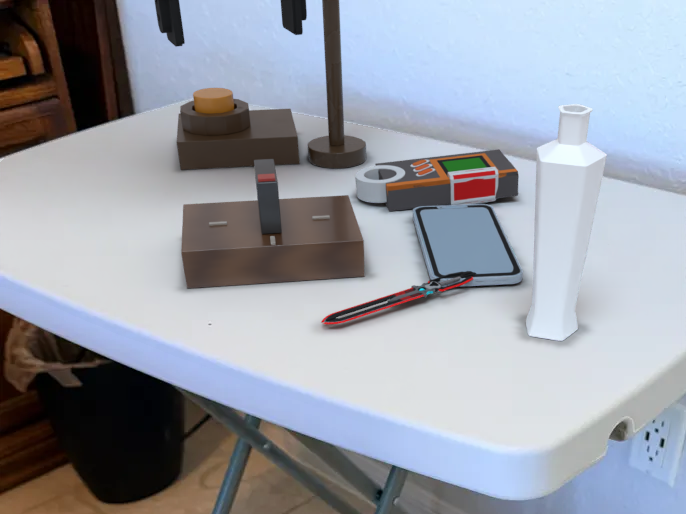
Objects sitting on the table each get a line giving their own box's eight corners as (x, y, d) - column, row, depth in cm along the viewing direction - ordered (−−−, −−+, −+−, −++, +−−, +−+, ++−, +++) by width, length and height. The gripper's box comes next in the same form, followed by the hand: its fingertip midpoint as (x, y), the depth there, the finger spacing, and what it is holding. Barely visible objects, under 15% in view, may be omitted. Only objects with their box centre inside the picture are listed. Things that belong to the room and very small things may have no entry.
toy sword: (314, 321, 68) (314, 313, 67) (467, 272, 73) (468, 264, 73) (328, 333, 66) (328, 324, 66) (482, 281, 72) (483, 274, 72)
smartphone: (432, 280, 72) (410, 206, 83) (432, 290, 72) (410, 215, 84) (526, 275, 72) (492, 203, 84) (525, 285, 73) (491, 212, 84)
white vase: (504, 325, 68) (521, 106, 58) (549, 309, 70) (573, 95, 60) (546, 349, 65) (571, 124, 55) (592, 332, 67) (624, 112, 57)
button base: (180, 170, 93) (173, 123, 90) (182, 139, 101) (175, 95, 98) (299, 163, 95) (296, 117, 92) (292, 134, 102) (289, 90, 99)
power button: (195, 117, 93) (192, 99, 92) (195, 106, 96) (192, 88, 95) (235, 115, 94) (233, 97, 93) (234, 104, 97) (232, 86, 96)
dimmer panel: (186, 288, 72) (180, 249, 70) (188, 238, 80) (182, 202, 78) (364, 276, 74) (363, 238, 72) (349, 229, 82) (348, 193, 80)
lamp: (302, 173, 93) (279, -158, 76) (295, 148, 99) (274, -164, 82) (381, 169, 94) (376, -159, 77) (370, 144, 100) (364, -164, 83)
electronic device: (350, 162, 88) (502, 145, 90) (352, 193, 90) (502, 175, 92) (361, 187, 83) (523, 168, 85) (364, 219, 85) (521, 200, 86)
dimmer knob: (258, 209, 77) (253, 156, 74) (277, 207, 77) (273, 155, 74) (261, 234, 73) (256, 179, 70) (281, 233, 73) (277, 178, 70)
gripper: (307, -242, 69) (321, 18, 80) (67, -243, 63) (117, 37, 74) (344, -243, 63) (353, 37, 74) (86, -243, 58) (136, 58, 69)
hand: (235, 37), depth 74 cm, fingers open, 9 cm apart
